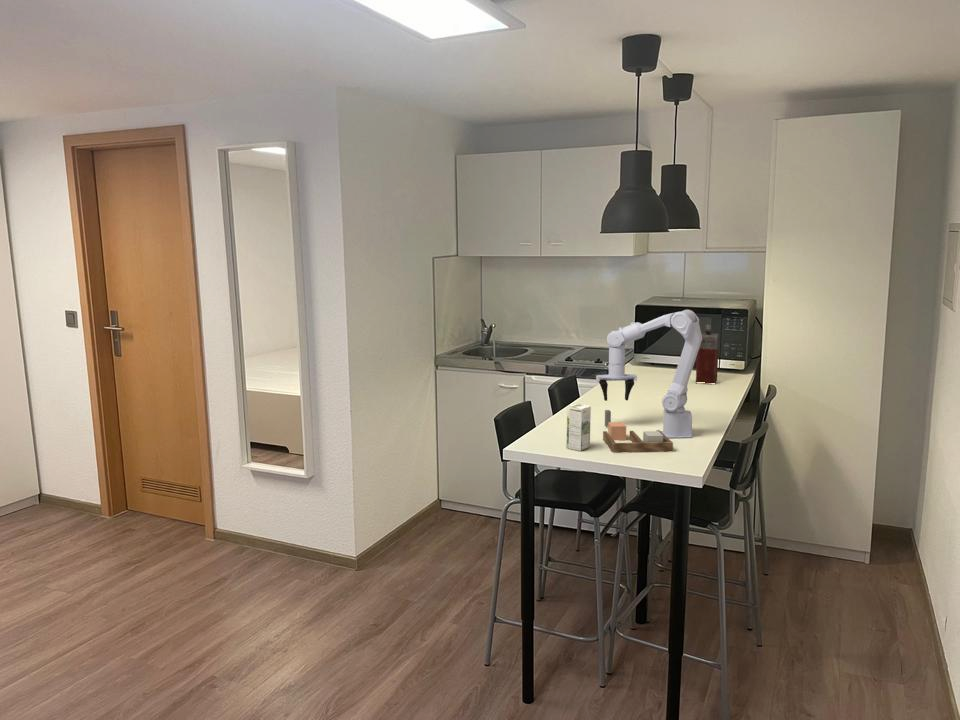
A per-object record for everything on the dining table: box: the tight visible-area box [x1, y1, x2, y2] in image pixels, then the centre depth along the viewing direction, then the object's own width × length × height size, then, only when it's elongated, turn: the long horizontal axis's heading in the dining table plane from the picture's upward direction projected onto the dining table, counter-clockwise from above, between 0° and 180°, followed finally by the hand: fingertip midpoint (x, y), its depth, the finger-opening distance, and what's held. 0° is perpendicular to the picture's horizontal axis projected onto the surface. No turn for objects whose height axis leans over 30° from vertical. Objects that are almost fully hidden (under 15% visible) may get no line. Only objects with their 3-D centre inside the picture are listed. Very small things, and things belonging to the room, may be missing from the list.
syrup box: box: [566, 403, 592, 452], centre depth 241 cm, size 6×6×14 cm
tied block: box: [604, 409, 627, 441], centre depth 261 cm, size 5×20×6 cm, turn 2°
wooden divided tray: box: [602, 429, 674, 453], centre depth 245 cm, size 20×16×3 cm
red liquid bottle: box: [693, 324, 720, 384], centre depth 351 cm, size 9×11×28 cm
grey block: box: [642, 430, 663, 442], centre depth 242 cm, size 5×6×5 cm
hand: (616, 400), depth 267 cm, fingers open, 7 cm apart
